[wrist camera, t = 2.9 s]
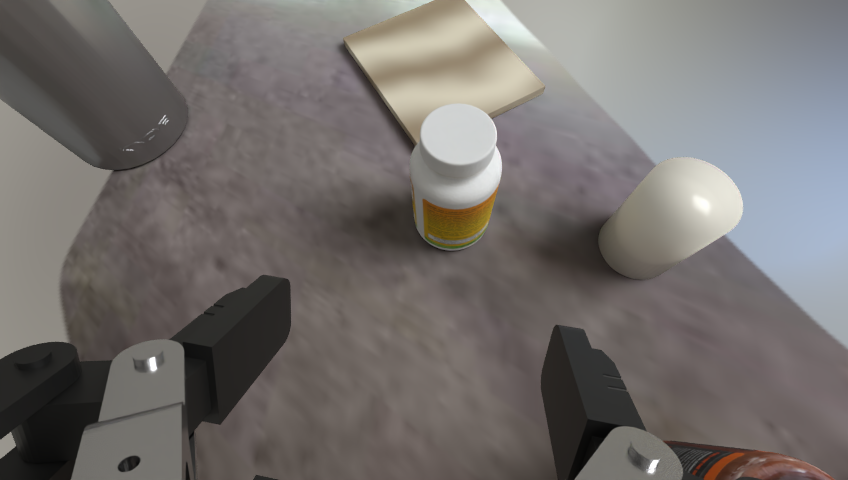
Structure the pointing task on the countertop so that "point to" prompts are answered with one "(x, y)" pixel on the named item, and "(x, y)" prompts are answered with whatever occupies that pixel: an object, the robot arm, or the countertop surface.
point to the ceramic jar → (670, 218)
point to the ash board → (441, 64)
